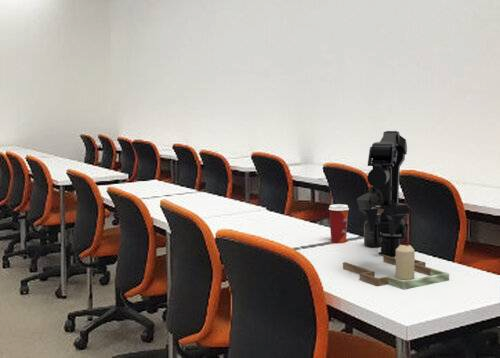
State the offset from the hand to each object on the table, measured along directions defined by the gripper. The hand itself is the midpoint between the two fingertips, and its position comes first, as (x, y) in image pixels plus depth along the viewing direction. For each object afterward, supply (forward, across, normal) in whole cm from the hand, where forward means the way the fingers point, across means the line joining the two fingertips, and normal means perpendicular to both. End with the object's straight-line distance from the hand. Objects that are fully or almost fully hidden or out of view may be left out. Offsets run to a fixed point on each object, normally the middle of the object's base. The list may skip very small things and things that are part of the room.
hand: (381, 233), depth 204 cm
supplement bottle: (+12, -28, +21) cm, 37 cm away
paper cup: (+12, -41, +15) cm, 45 cm away
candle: (+12, +10, 0) cm, 16 cm away
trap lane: (+12, +6, 0) cm, 13 cm away
